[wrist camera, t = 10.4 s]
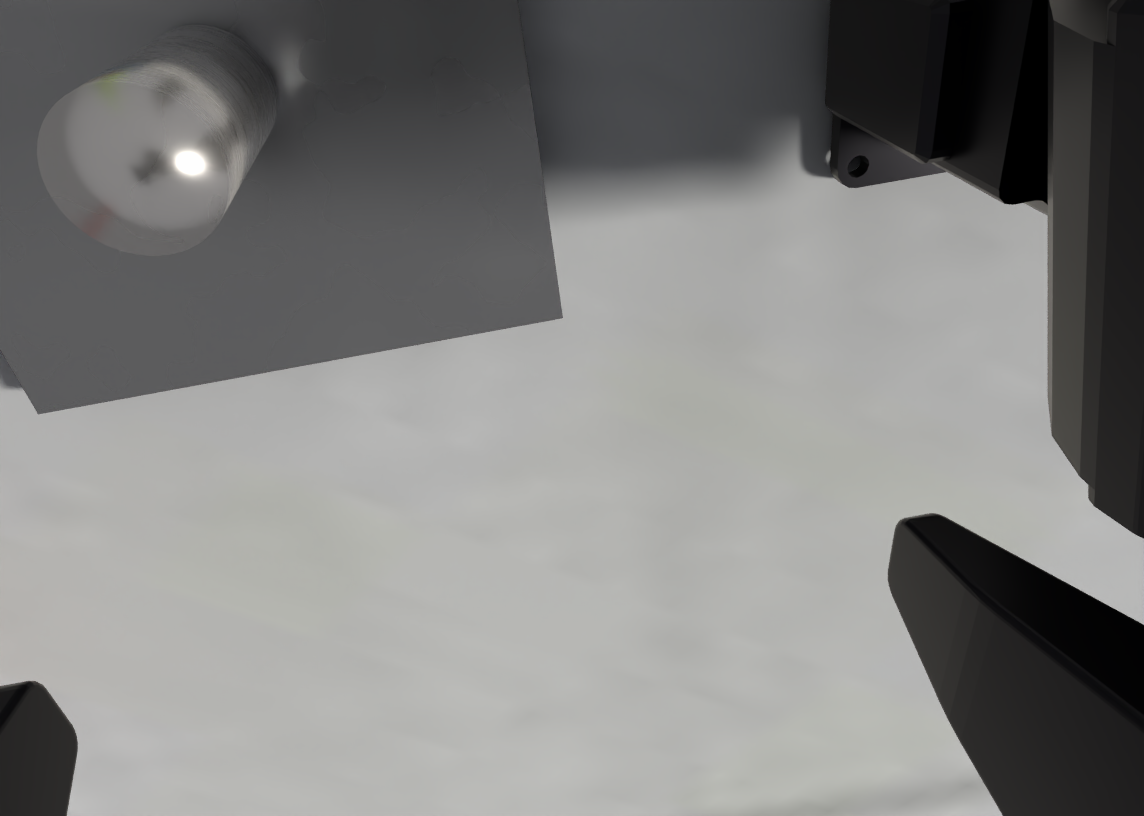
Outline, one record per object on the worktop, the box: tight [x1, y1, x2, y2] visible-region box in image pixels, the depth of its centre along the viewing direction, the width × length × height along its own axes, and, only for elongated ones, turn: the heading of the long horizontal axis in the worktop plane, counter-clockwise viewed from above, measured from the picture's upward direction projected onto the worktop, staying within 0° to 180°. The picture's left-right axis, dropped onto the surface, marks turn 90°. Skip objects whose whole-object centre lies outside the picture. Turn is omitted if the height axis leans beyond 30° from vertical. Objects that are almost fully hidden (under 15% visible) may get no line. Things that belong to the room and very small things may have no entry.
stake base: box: [0, 0, 563, 414], centre depth 14 cm, size 12×12×6 cm
